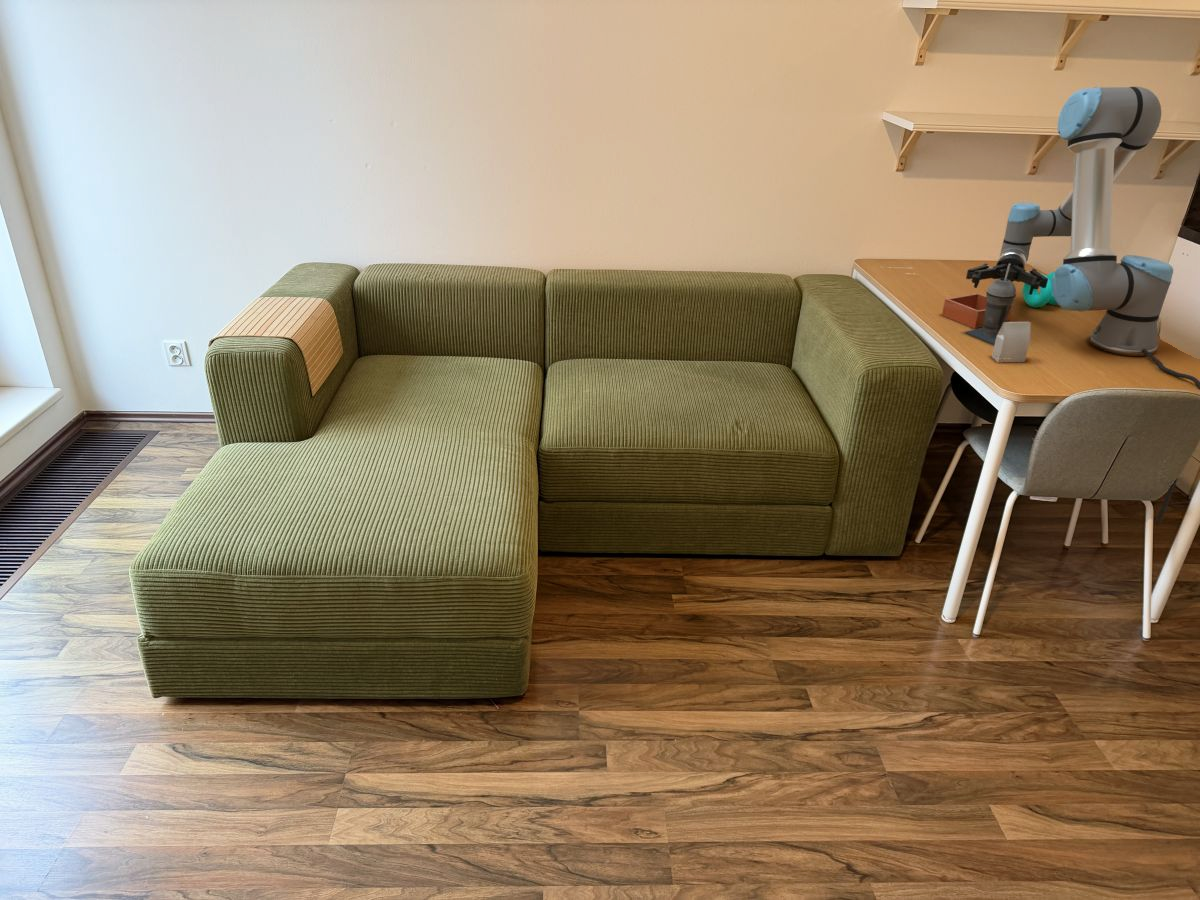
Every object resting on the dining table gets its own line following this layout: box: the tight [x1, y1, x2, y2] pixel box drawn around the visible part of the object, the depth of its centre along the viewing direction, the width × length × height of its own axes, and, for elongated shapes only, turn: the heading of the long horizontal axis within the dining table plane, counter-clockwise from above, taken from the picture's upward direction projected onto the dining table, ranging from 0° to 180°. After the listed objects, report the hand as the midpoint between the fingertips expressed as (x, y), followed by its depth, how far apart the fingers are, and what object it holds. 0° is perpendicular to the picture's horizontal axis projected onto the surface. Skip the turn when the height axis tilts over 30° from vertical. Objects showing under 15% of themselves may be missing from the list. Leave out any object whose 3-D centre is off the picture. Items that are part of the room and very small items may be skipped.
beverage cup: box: [982, 264, 1017, 338], centre depth 215 cm, size 7×7×20 cm
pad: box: [965, 327, 996, 346], centre depth 219 cm, size 10×9×1 cm
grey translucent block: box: [991, 321, 1032, 363], centre depth 203 cm, size 4×7×10 cm, turn 91°
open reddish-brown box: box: [941, 292, 1013, 329], centre depth 231 cm, size 13×13×5 cm
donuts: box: [1021, 271, 1059, 308], centre depth 239 cm, size 10×10×10 cm
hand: (1003, 286), depth 214 cm, fingers open, 13 cm apart
